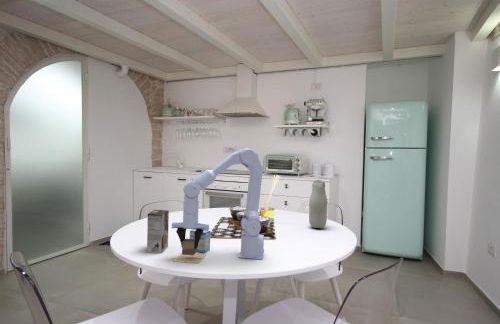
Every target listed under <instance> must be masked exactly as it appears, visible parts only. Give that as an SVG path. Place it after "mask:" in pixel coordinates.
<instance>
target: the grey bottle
mask: <svg viewBox="0 0 500 324" xmlns="http://www.w3.org/2000/svg"><path fill="white" fill-rule="evenodd" d="M311 187H312V188H311V194H310V197H309V202H308V207H309V208H308V211H309V213H308V222H309V226H311V228H313V227H314V228H313V229H315V228H322V229H324V228H325V227H326V226H327V221H328V197H327V193H326V182H325V181H324V180H321V179H316V180H314V181H312V185H311Z"/></svg>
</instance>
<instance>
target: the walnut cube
mask: <svg viewBox="0 0 500 324" xmlns="http://www.w3.org/2000/svg"><path fill="white" fill-rule="evenodd" d="M181 253H182V255H194V254H197V253H198V252H197V249H195V239H189V238H185V240H184V241H183V242H182V246H181Z"/></svg>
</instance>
